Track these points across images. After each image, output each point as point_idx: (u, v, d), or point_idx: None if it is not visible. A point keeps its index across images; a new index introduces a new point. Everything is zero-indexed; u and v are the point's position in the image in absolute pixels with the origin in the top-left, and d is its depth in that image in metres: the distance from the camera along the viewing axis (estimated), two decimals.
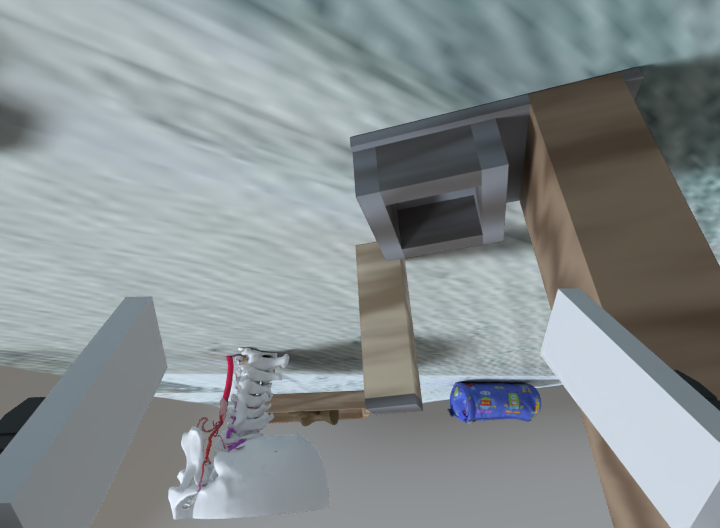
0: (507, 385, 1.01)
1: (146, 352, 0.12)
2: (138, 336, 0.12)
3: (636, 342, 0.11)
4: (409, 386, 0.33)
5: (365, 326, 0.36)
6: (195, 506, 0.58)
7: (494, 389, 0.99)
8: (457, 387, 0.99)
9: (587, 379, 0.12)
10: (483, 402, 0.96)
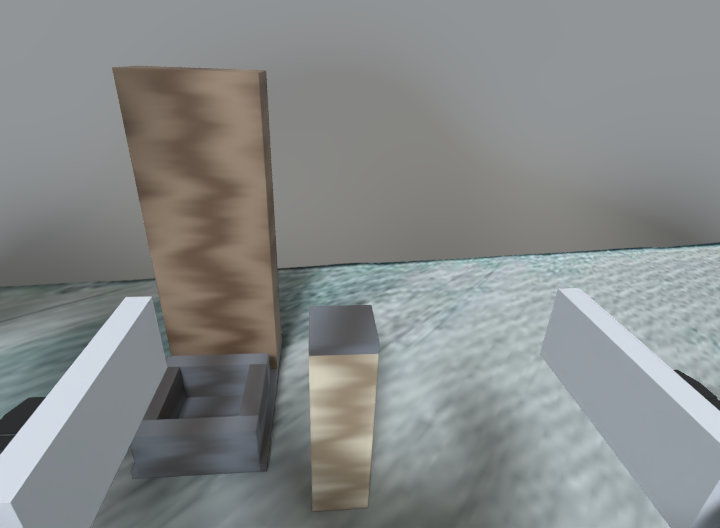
0: None
1: (146, 352, 0.12)
2: (139, 336, 0.12)
3: (636, 342, 0.11)
4: None
5: None
6: None
7: None
8: None
9: (587, 379, 0.12)
10: None
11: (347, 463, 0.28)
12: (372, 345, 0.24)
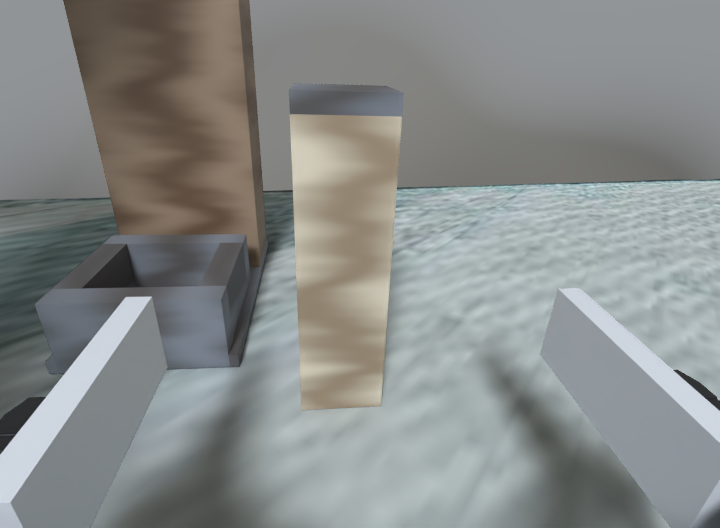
0: None
1: (146, 352, 0.12)
2: (139, 336, 0.12)
3: (636, 342, 0.11)
4: None
5: None
6: None
7: None
8: None
9: (587, 380, 0.12)
10: None
11: (352, 328, 0.19)
12: (392, 98, 0.15)
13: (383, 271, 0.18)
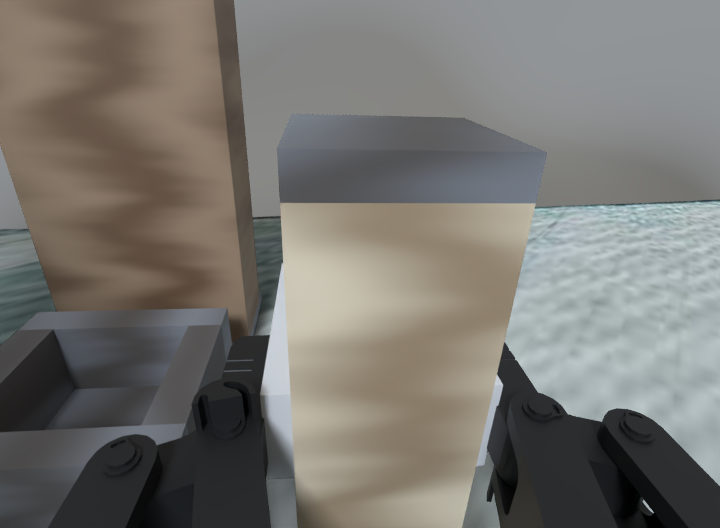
0: None
1: None
2: None
3: None
4: None
5: None
6: None
7: None
8: None
9: None
10: None
11: None
12: (519, 165, 0.06)
13: (461, 473, 0.09)
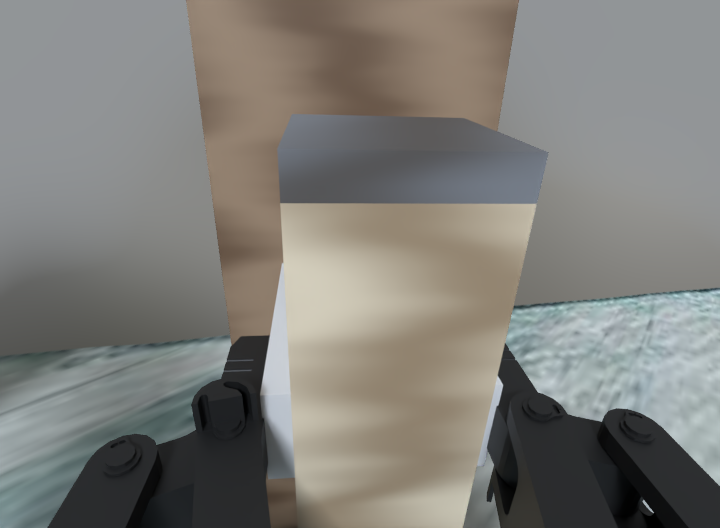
0: None
1: None
2: None
3: None
4: None
5: None
6: None
7: None
8: None
9: None
10: None
11: None
12: (520, 165, 0.06)
13: (462, 474, 0.09)
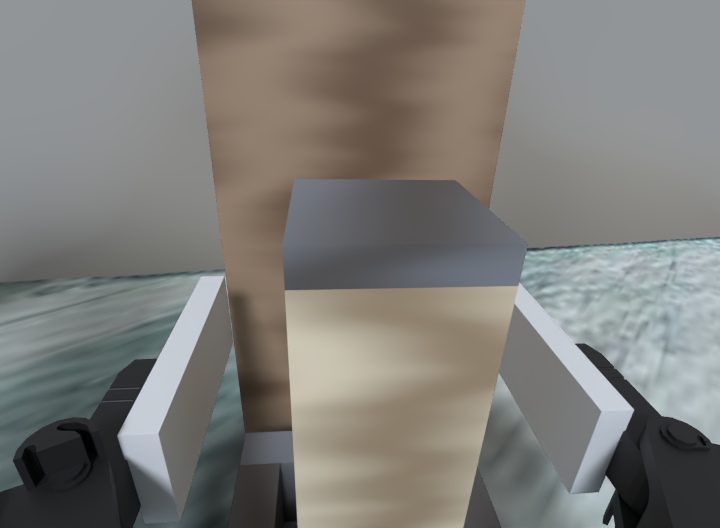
0: None
1: (221, 325, 0.13)
2: (217, 310, 0.13)
3: (547, 318, 0.12)
4: None
5: None
6: None
7: None
8: None
9: (509, 354, 0.13)
10: None
11: None
12: (503, 254, 0.07)
13: (453, 516, 0.10)
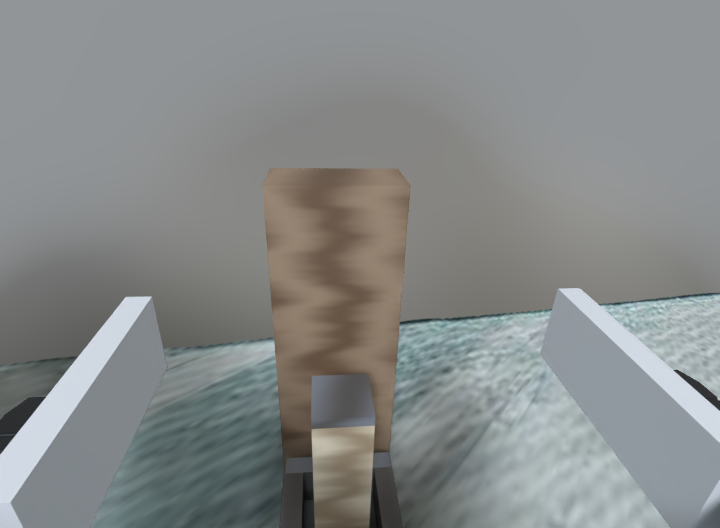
0: None
1: (146, 352, 0.12)
2: (138, 336, 0.12)
3: (636, 342, 0.11)
4: None
5: None
6: None
7: None
8: None
9: (587, 379, 0.12)
10: None
11: (348, 519, 0.30)
12: (369, 418, 0.26)
13: (366, 491, 0.29)
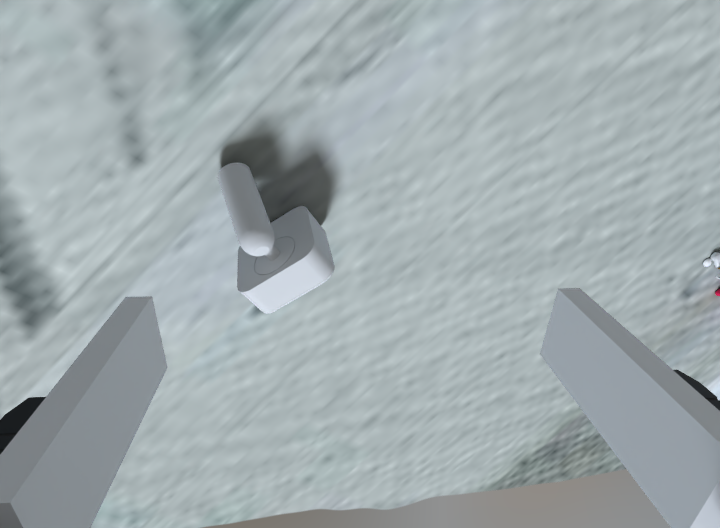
0: None
1: (146, 352, 0.12)
2: (138, 336, 0.12)
3: (636, 342, 0.11)
4: None
5: None
6: None
7: None
8: None
9: (587, 379, 0.12)
10: None
11: None
12: None
13: None
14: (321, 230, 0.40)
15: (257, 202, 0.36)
